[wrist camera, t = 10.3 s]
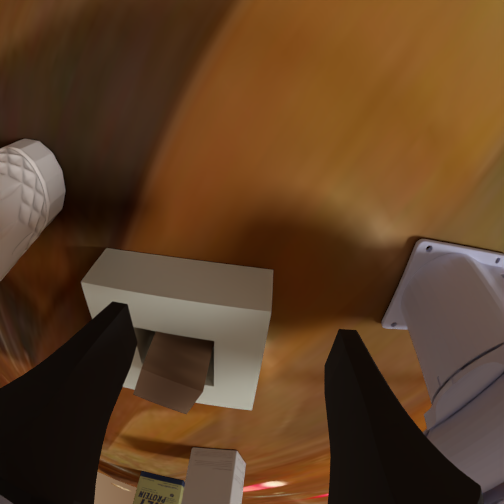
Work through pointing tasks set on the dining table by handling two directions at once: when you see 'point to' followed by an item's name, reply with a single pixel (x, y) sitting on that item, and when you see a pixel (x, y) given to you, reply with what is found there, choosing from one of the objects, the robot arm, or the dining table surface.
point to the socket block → (191, 313)
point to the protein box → (158, 489)
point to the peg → (174, 371)
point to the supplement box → (214, 477)
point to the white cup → (26, 197)
